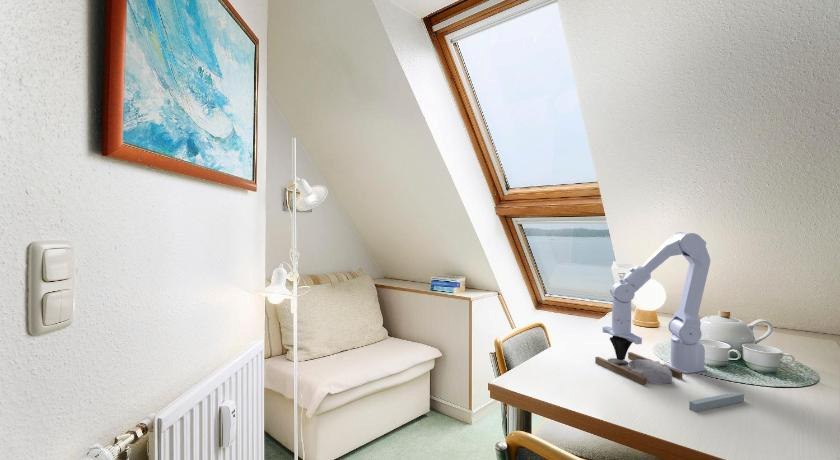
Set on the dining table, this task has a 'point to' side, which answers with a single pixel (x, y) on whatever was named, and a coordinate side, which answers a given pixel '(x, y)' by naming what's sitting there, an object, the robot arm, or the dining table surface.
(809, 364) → the dining table surface
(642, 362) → the stone block
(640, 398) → the dining table surface
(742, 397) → the stop bar
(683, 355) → the robot arm
